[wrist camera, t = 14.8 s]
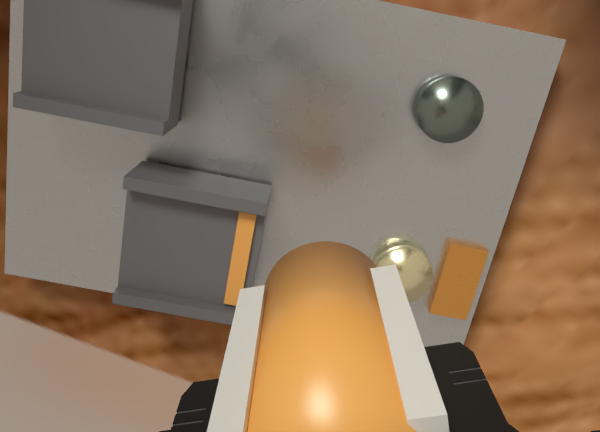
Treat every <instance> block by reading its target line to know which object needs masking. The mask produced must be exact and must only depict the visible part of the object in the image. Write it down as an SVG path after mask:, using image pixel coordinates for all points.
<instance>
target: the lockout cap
mask: <svg viewBox="0 0 600 432" xmlns="http://www.w3.org/2000/svg"><path fill="white" fill-rule="evenodd" d="M376 267H377V266H376V265H375V264H374V262H373V261H372V260H371V259H370V258H369V257H368V256H366V255H365V254H364V253H362V252H361V251H359V250H358V249H356V248H354V247H351V246H349V245H346V244H342V243H339V242H331V241H320V242H313V243H308V244H305V245H302V246H299V247H297V248H295V249H293V250H291V251H290V252H288V253H287V254H285V255H284V256H283V257H282V258H281V259H280V260H278V262H277V263H276V264H275V265H274V266H273V268H272V270H271V271H270V273H269V275H268V277H267V279H266V283H265V288H266V300H265V307H264V315H263V322H262V329H261V336H260V343H259V350H258V357H257V364H256V372H255V379H254V386H253V393H252V400H251V407H250V414H249V422H248V429H247V432H417V431H415V430H414V429H413V428H412V427H411V426H409V425H408V424H407V420H406V416H405V412H404V407H403V403H402V399H401V395H400V391H399V387H398V383H397V379H396V375H395V370H394V366H393V362H392V358H391V354H390V350H389V346H388V342H387V338H386V333H385V329H384V325H383V321H382V317H381V313H380V309H379V305H378V301H377V296H376V292H375V288H374V284H373V280H372V276H371V271H370V268H376Z"/></svg>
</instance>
